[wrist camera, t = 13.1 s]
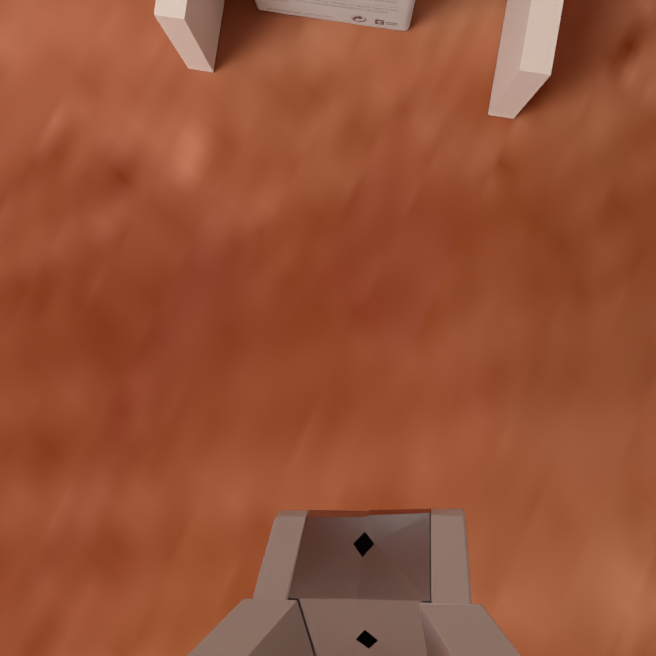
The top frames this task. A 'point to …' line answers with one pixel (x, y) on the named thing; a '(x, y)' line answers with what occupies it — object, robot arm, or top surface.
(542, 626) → the top surface
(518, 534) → the top surface
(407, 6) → the supplement box
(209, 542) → the top surface
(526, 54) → the frame
